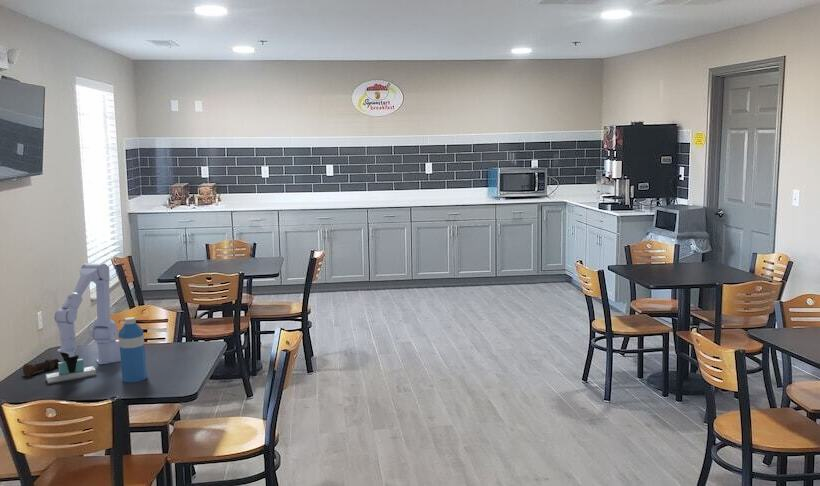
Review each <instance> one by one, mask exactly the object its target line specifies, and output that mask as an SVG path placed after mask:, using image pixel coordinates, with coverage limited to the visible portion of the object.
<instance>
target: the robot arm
mask: <svg viewBox="0 0 820 486" xmlns="http://www.w3.org/2000/svg"><path fill="white" fill-rule="evenodd" d="M79 275H80V276H79V279H78V280H77V283H76V286H75V287H74V290H73V292H71V293H68V295H67V297H66V299H65V300H64V303H63V304H62V306H61V308H59V309H57V310H55V311H56V312H55V314H54V316H53V318H54V321H55V323H56V324H57V325H56V326H57V328H58V333H59V343H60V348H59V349H57V352H58V353H60V355H61V356H62V357H61V358H62V359H63V362H64V361H66V363H67V367H68V370H69V373H74V372H75V370H76V363H77V360H78V359H79V354H76V355H75V352H76V351H77V350H78V346H77V341H76V340H77V339H76V331H75V329H76V328H75V321H76V320H77V316H78V309H79V308H80V305H81V304H82V302H83V294H84V292H85V291H86V289H87V288H88V287H89V285H90V284H91V283H92V282H93V283H94V284H95V289H96V291H95V294H96V316H97V317H96V319H97V320H96V321H95V322H93V324H92V330H91V337H92V340H94V341H95V343H96V347H97V359H96V362H97V363H98V364H99V365H106V364H111V363H117V362H121V357H120V345H119V339H118V338H119V329H118V326H117V323H116V322H115V321H114V320H113V319H112V318H111V299H110V296H111V293H110V279H111V277H110V267H109V266H108V265H107V264H106V263H104V262H102V263H93V262H92V263H90V262H84V263H83V264H82V266H81V267H80V270H79Z"/></svg>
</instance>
